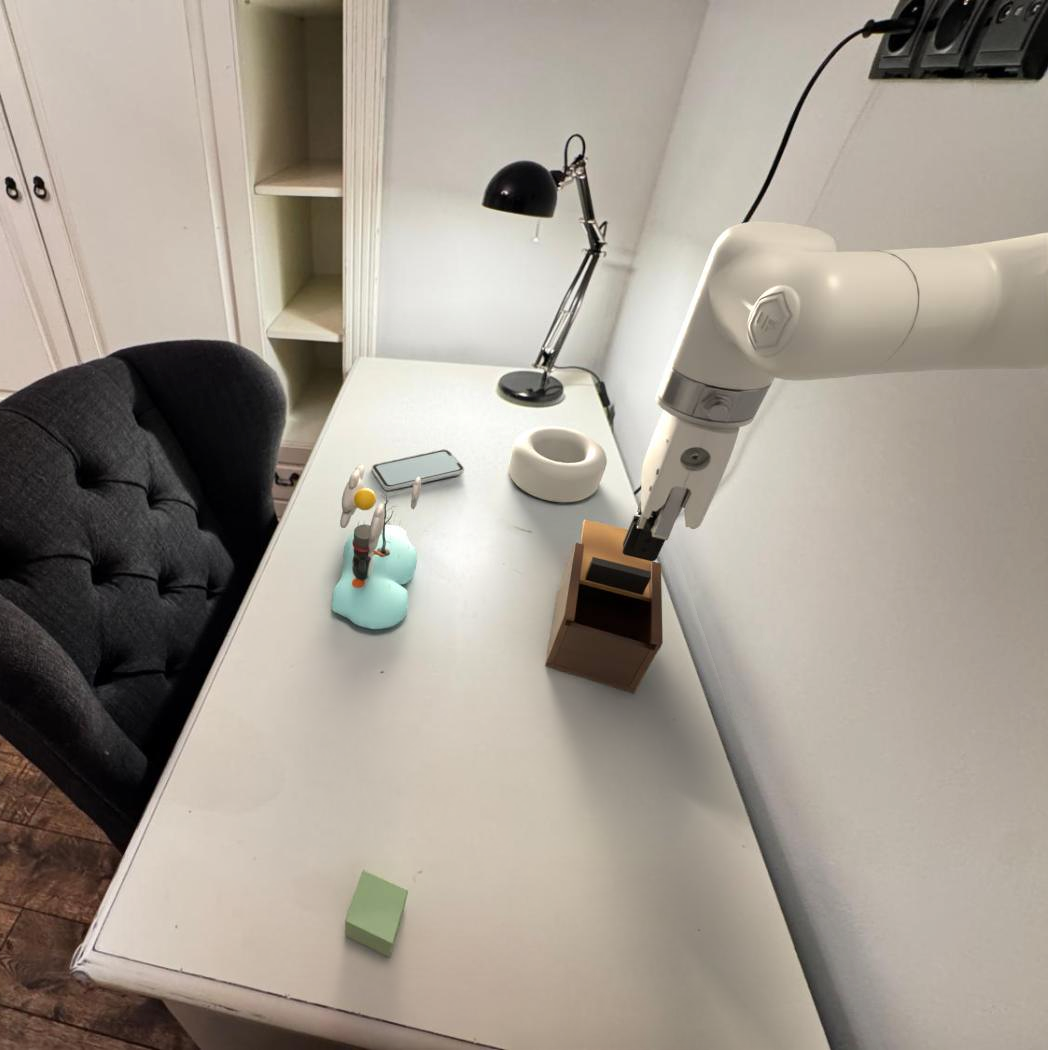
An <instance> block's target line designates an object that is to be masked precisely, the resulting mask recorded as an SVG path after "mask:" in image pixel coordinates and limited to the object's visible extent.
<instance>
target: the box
mask: <svg viewBox="0 0 1048 1050" xmlns="http://www.w3.org/2000/svg"><path fill="white" fill-rule="evenodd" d="M583 552H584V544H580V542H576V541H575V543H574V545H573V548H572V551H571V553H570V555H569V556H570V557H569V559H568V562H567V565H566V567H565V570H564V572H563V575H562V578H561V582H560V585H559V587H558V590H557V594H556V598H555V604H554V611H553V616H552V623H551V628H550V636H549V640H548V646H547V652H546V659H545V663H544V667H548V668H551V669H554V670H557V671H559V672H560V671H561V672H564V673H567V674H570V675H573V676H576V677H579V678H583V679H586V680H589V681H593V682H596V683H598V684H602V685H605V686H608V687H612V688H615V689H619V690H622V691H624V692H628V693H632V694H634V693H635V692H636V690H637V688H638V686H639V684H640V683H641V681H642V679H644V678H643V677H644V676H645V674H646V672H647V671H648V669H649V667H650V665H651V664H652V662H653V661H654V659H655V658H656V655H657V654H658V652H659V651H660V649H661V647H662V645H663V643H664V640H663V638H664V637H663V595H662V594H663V592H662V591H663V590H662V588H663V587H662V563H660V562H657V561H651V563H650V571H651V579H650V602H648V601H644V600H640V599H637V598H633V597H629V596H625V595H622V594H618V593H614V592H610V591H607V590H603V589H599V588H595V587H591V586H588V585H584V584H580V583H579V582H580V574H581V567H582V559H583Z"/></svg>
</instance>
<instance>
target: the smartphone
mask: <svg viewBox="0 0 1048 1050" xmlns="http://www.w3.org/2000/svg"><path fill="white" fill-rule="evenodd" d="M371 472H372V474H373V475H374V477H375V478H376V480H377V481H378V483H379V484H380V486H381V487H382V489H384V490H385V491H390V490H391V491H394V490H398V489H402V488H406V487H413V484H414V481H415V479H416V478H417V477H420V478H421V484H424V483H429V482H433V481H437V480H442V479H445V478H450V477H454V476H459V475H462V474H464V472H465V466H464V465H463V464H462V463H461V462H460V461H459V459H458V458H457V457H456V456H455V455H454V454H453V453H452V452H451V451H450V450H448V449H445V448H444V449H439V450H433V451H428V452H424V453H419V454H415V455H410V456H406V457H402V458H396V459H392V460H388V461H382V462H379V463H374V464H373V465H372V466H371ZM386 482H387V483H386ZM385 486H386V487H385ZM394 488H395V489H394ZM392 489H393V490H392Z"/></svg>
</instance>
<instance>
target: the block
mask: <svg viewBox="0 0 1048 1050" xmlns="http://www.w3.org/2000/svg"><path fill="white" fill-rule="evenodd" d="M359 877H360V878H359V880H358V883H357V885H356V889H355V892H354V895H353V897H352V899H351V903H350V907H349V908H348V911H347V915H346V917H345V921H344V922H345V923H344V925H345V927H344V931H345V932H344V936H345V937H347V938H348V939H351V940H352V941H354V942H356V943H359V944H361V945H363V946H365V947H367V948H369V949H371V950H372V951H375V952H377V953H380V954H382V955H383V956H386V957H387V958H391V956H392V953H393V949H394V946H395V942H396V939H397V935H398V931H399V928H400V925H401V921H402V918H403V914H404V911H405V908H406V902H407V898H408V892H409V889H406V888H405V887H402V886H400V885H398V884H396V883H394V882H391V881H389V880H387V879H385V878H383V877H380V876H378V875H375V874H373V873H371V872H369V871H367V870H365V869H362V871H361V874H360V876H359Z"/></svg>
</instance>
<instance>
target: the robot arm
mask: <svg viewBox="0 0 1048 1050" xmlns="http://www.w3.org/2000/svg"><path fill="white" fill-rule="evenodd" d="M837 249H838V248H837V244H836V241H835V239H833V237H832V235H829V234H828V233H827V232H824V231H822V230H820V229H817V228H814V227H811V226H806V225H801V224H797V223H789V222H788V223H787V222H780V221H779V222H778V221H747V222H743V223H742V222H741V223H738V224H734V225H732V226H730V227H728V228H727V229H726V230H725V231H723V232H722V233H721V234H720V235H719V236H718V238H717V239H716V241H715V242H714V244H713V246H712V248H711V251H710V254H709V256H708V259H707V261H706V264H705V267H704V269H703V272H702V274H701V277H700V280H699V282H698V285H697V288H696V289H695V293H694V295H693V298H692V301H691V303H690V306H689V309H688V311H687V313H686V317H685V319H684V322H683V324H682V327H681V330H680V333H679V335H678V337H677V339H676V342H675V345H674V348H673V349H672V352H671V355H670V359H669V361H668V364H667V366H666V368H665V371H664V374H663V377H662V380H661V382H660V385H659V387H658V390H657V393H656V396H655V401H656V403H657V405H658V406H659V407H660V408H661V409H662V410H663V411H662V414H661V415H660V418H659V420H658V422H657V425H656V428H655V429H654V432H653V435H652V438H651V440H650V443H649V446H648V448H647V451H646V454H645V457H644V461H643V463H642V470H641V480H640V481H641V483H640V484H641V485H640V502H639V504H638V506H637V507H638V508H637V511H636V515H635V514H634V515H633V517H632V519H631V522H630V524H629V527H628V529H627V530H628V532H627V534H626V537H625V539H624V541H623V554H624V555H627V556H631V557H636V558H640V559H644V560H648V561H653V562H656V560H657V559H658V557H659V554H660V552H661V550H662V548H663V546H664V544H665V542H666V541H669V539H670V535H671V533H672V531H673V527H674V526H675V523H676V521H677V519H678V517H679V515H680V514H681V512H682V509H683V511H684V522H685V528H689V529H691V530H696V529H698V528H699V527H700V526H701V525H702V523H703V521H704V519H705V517H706V514H707V512H708V510H709V508H710V506H711V503H712V501H713V499H714V497H715V495H716V492H717V490H718V489H719V486H720V483H721V481H722V479H723V476H724V474H725V471H726V469H727V467H728V465H729V462H730V459H731V456H732V453H733V452H734V451H733V450H734V448H735V445H736V442H737V438H738V436H739V432H740V429H741V428H743V427H746V426H748V425H750V424H752V422H753V421H754V419H755V417H756V415H757V413H758V411H759V409H760V407H761V406H762V403H763V402H764V400H765V398H766V395H767V393H768V392H769V389H770V388H771V386H772V384H773V382H774V380H775V379H780V380H784V381H795V382H800V381H803V382H804V381H816V380H827V379H829V380H830V379H841V378H849V377H856V376H870V375H871V376H872V375H881V374H882V375H883V374H896V373H914V372H927V371H929V372H930V371H931V372H932V371H957V370H959V371H960V370H961V371H963V370H1048V232H1043V233H1037V234H1031V235H1024V236H1018V237H1013V238H1006V239H1000V240H995V241H993V240H992V241H987V242H980V243H973V244H966V245H957V246H956V245H955V246H943V247H941V246H940V247H914V248H913V247H912V248H899V249H898V248H897V249H881V250H864V251H862V250H861V251H859V250H858V251H837Z"/></svg>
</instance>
